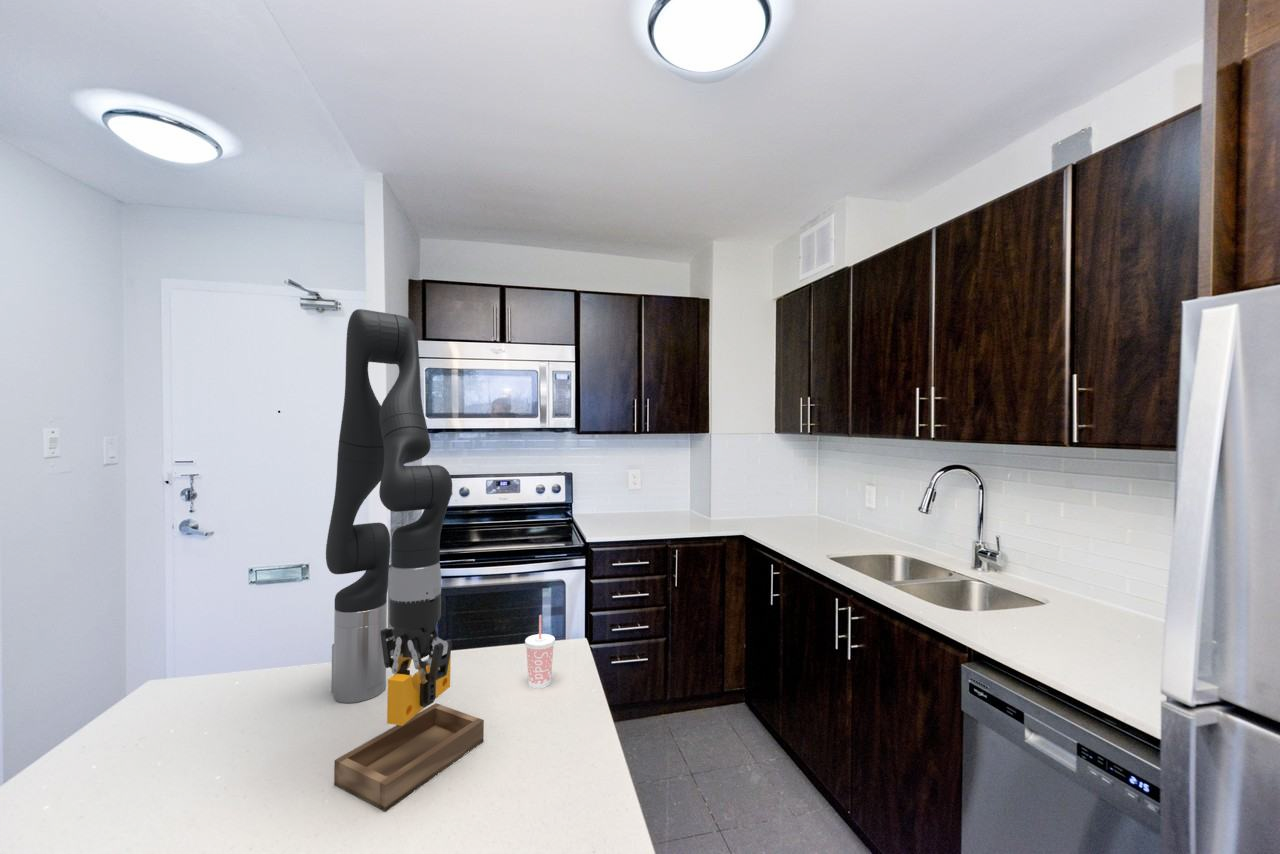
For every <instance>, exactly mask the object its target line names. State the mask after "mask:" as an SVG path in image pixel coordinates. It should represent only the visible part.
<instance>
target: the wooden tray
mask: <svg viewBox="0 0 1280 854" xmlns="http://www.w3.org/2000/svg"><path fill="white" fill-rule="evenodd" d="M484 721H485V720H484V719H483V718H480V717H477V716H474V715H471V714H468V713H465V712H462V711H460V710H456V709H454V708H450V707H448V706H446V705H442V704H439V703H436V702H435V703H434V704H433V703H432V704H431V705H429V706H427V707H425V708H424V709H422V710H421V711H420V712H419V713H417V714H416V715H415V716H414V717H413V718H411V719H410V720H409V721H408V722H406V723H405V724H404V725H403V726H400V725H394V726H393V727H391V728H389V729H388V730H386V731H383V732H382V733H380V734H378V735H377V736H375V737H373V738H372V739H369V740H368V741H366V742H364V743H362V744H361V745H359V746H358V747H355V748H354V749H352V750H350V751H348V752H347V753H345V754H343V755H341V756H339V757H337V758H336V759H334V760H333V761H334V766H333V767H334V768H333V769H334V771H333V772H334V773H333V779H334V780H333V781H334V782H333V785H334V786H335V787H338V788H339V789H341V790H343V791H345V792H347V793H349V794H351V795H353V796H355V797H357V798H359V799H360V800H362V801H364V802H366V803H368V804H370V805H371V806H374V807H376V808H378V809H380V810H382V811H383V812H387V811H389V810H390V809H391V808H393V807H394V806H395V805H397V804H399V803H400V802H402V800H403V799H405V798H406V797H408V796H409V795H411V794H412V793H413V792H415V791H416V790H418V789H419V788H420V787H422V786H423V785H425V784H426V783H428V782H429V781H430V780H431V779H434V777H436V776H437V775H439V774H440V773H441V772H443V771H444V770H445V768H446V767H447V768H449V767H450V766H451V765H453V764H454V763H455V762H457V761H458V760H460V759H461V758H463V757H464V756H465V755H466V754H465V753H467V752H468V751H469V752H471V751H472V750H473V749H472V748H474V747H475V748H476V747H478V746H480V745H481V744H482V743H483V742H484V741H485V740H484V738H485V737H484V734H485V733H484V729H485V727H484V726H485V724H484V723H485V722H484ZM481 742H482V743H481ZM480 743H481V744H480ZM477 745H478V746H477ZM475 748H474V749H475ZM471 749H472V750H471ZM470 750H471V751H470ZM469 752H468V753H469ZM468 753H467V754H468ZM464 754H465V755H464ZM463 755H464V756H463ZM460 757H461V758H460ZM459 758H460V759H459ZM457 759H458V760H457ZM456 760H457V761H456ZM453 762H454V763H453ZM452 763H453V764H452ZM450 764H451V765H450ZM449 765H450V766H449ZM447 768H446V769H447ZM442 770H443V771H442ZM439 772H440V773H439ZM438 773H439V774H438ZM435 775H436V776H435ZM417 788H418V789H417ZM414 790H415V791H414Z"/></svg>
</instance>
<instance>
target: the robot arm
mask: <svg viewBox="0 0 1280 854" xmlns="http://www.w3.org/2000/svg"><path fill="white" fill-rule="evenodd" d="M345 340H346V342H345V343H346V344H345V348H346V349H345V381H344V384H345V385H344V400H343V406H342V407H343V408H342V415H341V423H340V430H339V437H338V446H337V447H338V448H337V459H336V460H337V462H336V463H337V464H336V479H335V492H334V499H333V505H332V509H331V510H332V511H331V516H330V522H329V527H328V533H327V539H326V543H325V546H326V547H325V563H326V566H327V569H328V570H329V572H330V573H331V574H333V575H345V574H346V575H347V574H351V573H352V574H353V573H358V572H364V571H365V572H364V573H363V574H362V576H361V577H359V579H356V581H355V582H354V581H353V583H351V584H349V585H347V586H346V587H344V588H342V589H340V590H339V591H338V592H336V594H335V596H334V619H333V620H334V627H333V628H334V629H333V630H334V633H333V635H334V636H333V641H334V642H333V644H332V645H331V682H330V684H331V687H330V688H331V689H330V690H331V691H330V692H331V693H332V695H333V699H334V700H335V701H337V702H339V703H346V704H347V703H358V702H363V701H367V700H369V699H372V698H374V697H377V696H378V695H380V694H381V693H383V692H384V691H385V688H386V687H387V684H386V683H387V680H386V679H387V669H389V668H390V669H391V673H392V674H393V676H394V675H395V674H404V675H411V670H410V667H411V663H412V662H413V667H414V669H415V670H417V672H418V671H419V675H420V679H421V683H420V706H422V707H425V708H428V707H429V706H431V705H433V703H434V702H435V700H436V699H437V698H436V694H435V693H436V680H438V679H440V678H442V677H444V676H446V675H447V670H448V664H449V659H450V653H451V651H452V646H453V642H452V640H451V639H449V638H448V639H446V640H443V639H442V638H440V637H439V633H438V630H437V625H438V622H439V621H440V620H441V617H442V571H441V564H440V563H441V561H440V558H441V557H440V556H441V553H440V551H441V549H440V548H441V546H440V544H441V533H442V530H443V529H442V528H443V525H444V519H445V516H446V513H447V509H448V507H449V504H450V500H451V496H452V492H453V480H452V477H451V474H450V473H449V471H448V469H447V468H446V467H444V466H443V465H439V464H427V465H426V464H423V465H405V464H409V463H413V462H415V461H419V460H421V459H423V458H425V457H426V456H427V455H428V454H429V453H430V450H431V445H432V444H431V439H430V435H429V431H428V425H427V422H426V421H427V420H426V417H425V413H424V407H423V401H422V389H421V388H422V387H421V386H422V385H421V382H422V381H421V368H420V367H421V365H420V364H421V363H420V354H419V353H420V350H419V340H418V333H417V329H416V326H415V323H414V322H413V320H412V319H410V318H409V317H408V316H405V315H401V314H396V313H395V314H394V313H390V312H389V313H388V312H380V311H375V310H368V309H363V308H361V309H359V308H358V309H355V310H353V312H351V315H350V316H349V320H348V323H347V328H346V339H345ZM369 363H377V364H386V365H387V364H389V365H397V367H398V375H397V379H396V380H395V382H394V384H393V385H392V387H391V389H390V390H389V391H388V393H387V394H386V396H385V398H384V399H383V401H382V403H380V401H379V400H378V398H377V397H376V394H375V393H374V390H373V387H372V385H371V381H370V376H369ZM378 484H379V494H378V495H379V499H380V502H381V504H382V505H383V506H384V507H385V508H386V509H387V510H389V511H390V512H396V513H398V512H401V513H402V512H409V511H411V512H412V511H421V510H423V512H422V513H421V515H420V517H419V518H418V519H417V520H416V521H414V522H411V523H408V524H406V525H405V524H404V525H402V526H399V527H397V528H396V529H395V530H394V531H393V532H392V536H390V531H389V529H388V526H386V524H384V523H383V522H369V523H359V524H354V523H355V520H356V518H357V515H358V512H359V510H360V508H361V506H362V504H364V501H365V500H366V499H367V498H368V496H369V495H370V494H371V493H372V492H373V491H374V490H375V488H376V487H377V486H378ZM390 559H391V567H390ZM390 568H391V569H390ZM389 572H390V576H389ZM388 589H389V592H388ZM388 593H389V599H388ZM388 602H389V604H388ZM388 605H389V608H388ZM388 609H389V610H388ZM388 611H389V612H388ZM387 612H388V613H389V615H387V614H388V613H387ZM388 616H389V617H388ZM387 618H388V619H387ZM387 620H388V623H389V625H390V626H389V627H387V625H388V623H387ZM391 651H393V655H391ZM451 654H452V653H451ZM425 657H428V658H427V659H424V658H425ZM422 659H424V660H422ZM427 665H429V668H430V672H429V673H427V670H426V666H427ZM439 667H440V669H439ZM438 669H439V670H438ZM435 698H436V699H435Z"/></svg>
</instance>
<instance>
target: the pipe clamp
mask: <svg viewBox="0 0 1280 854" xmlns="http://www.w3.org/2000/svg"><path fill="white" fill-rule="evenodd" d="M451 658H452V653H450V659H449V664H448V670H447V675H446V676H444V677H442V678H440V679H438V680H436V693H435V694H436V698H435V700H436V699H437V698H438V697H440V696H441V695H442V694H443V693H444V692H446V691H447V690H448V689H449V688H450V687H451V661H452V660H451ZM439 669H440V667H439ZM439 669H438V670H439ZM426 670H427V673H429V672H430V668H429V665H427V666H426ZM420 683H421V679H420V675H419V671H418V670H417V671H416V672H415V673H414V674H413V675H411V674H410V675H404V674H395V675H394V674H393V675H392V676H390V677H389V678H388V679H387V700H386V701H387V702H386V703H387V705H386V706H387V709H386V723H387V724H388V725H389V724H390V725H394V726H396V725H400V726H403V725H404V724H405V723H406V722H408V721H409V720H410V719H411V718H413V717H414V716H415V715H416V714H417V713H419V712H421V711H423V710H425V709H426V707H422V706H420Z"/></svg>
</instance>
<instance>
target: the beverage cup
mask: <svg viewBox="0 0 1280 854" xmlns="http://www.w3.org/2000/svg"><path fill="white" fill-rule="evenodd" d="M538 623H539V624H538V633H537V634H532V635H529V636H527V637H526V638H525V640H524V643H525V646H526V647H525V648H526V660H527V661H526V665H527V682H528V686H529V687H530V688H532V689H533V688H534V689H542V688H543V689H544V688H546V687H548V685H549V686H550V685H551V683H552V669H553V657H554V645H555V644H556V643H555V642H556V638H555V636H554V635H552V634H549V633H542V614H539V617H538Z"/></svg>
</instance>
